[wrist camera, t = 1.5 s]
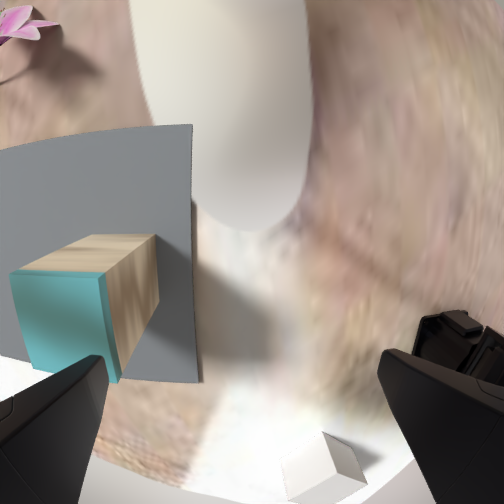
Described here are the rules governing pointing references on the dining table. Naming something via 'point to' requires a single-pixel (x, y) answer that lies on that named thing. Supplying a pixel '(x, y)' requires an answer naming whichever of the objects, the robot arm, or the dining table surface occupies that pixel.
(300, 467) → the light grey cube
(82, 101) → the dining table surface
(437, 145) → the dining table surface
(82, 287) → the maple block
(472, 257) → the dining table surface
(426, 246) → the dining table surface
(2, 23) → the lily
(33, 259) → the rubber mat
